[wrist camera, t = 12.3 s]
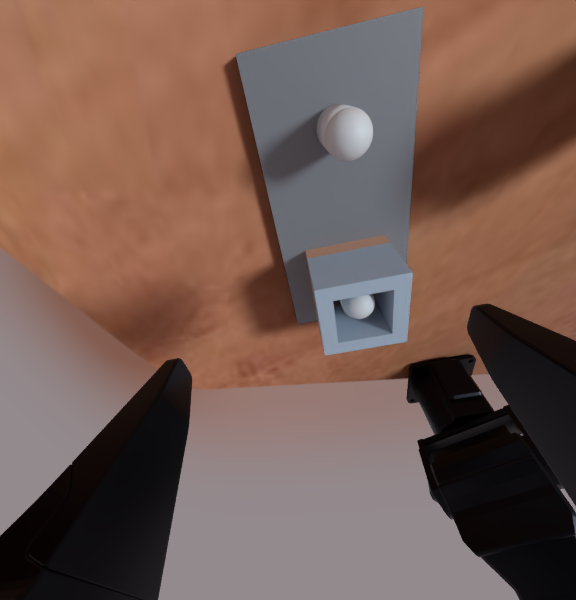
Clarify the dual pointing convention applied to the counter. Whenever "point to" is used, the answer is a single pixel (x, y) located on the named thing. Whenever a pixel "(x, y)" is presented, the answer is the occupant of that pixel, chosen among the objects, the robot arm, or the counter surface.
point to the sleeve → (360, 293)
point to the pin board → (336, 140)
